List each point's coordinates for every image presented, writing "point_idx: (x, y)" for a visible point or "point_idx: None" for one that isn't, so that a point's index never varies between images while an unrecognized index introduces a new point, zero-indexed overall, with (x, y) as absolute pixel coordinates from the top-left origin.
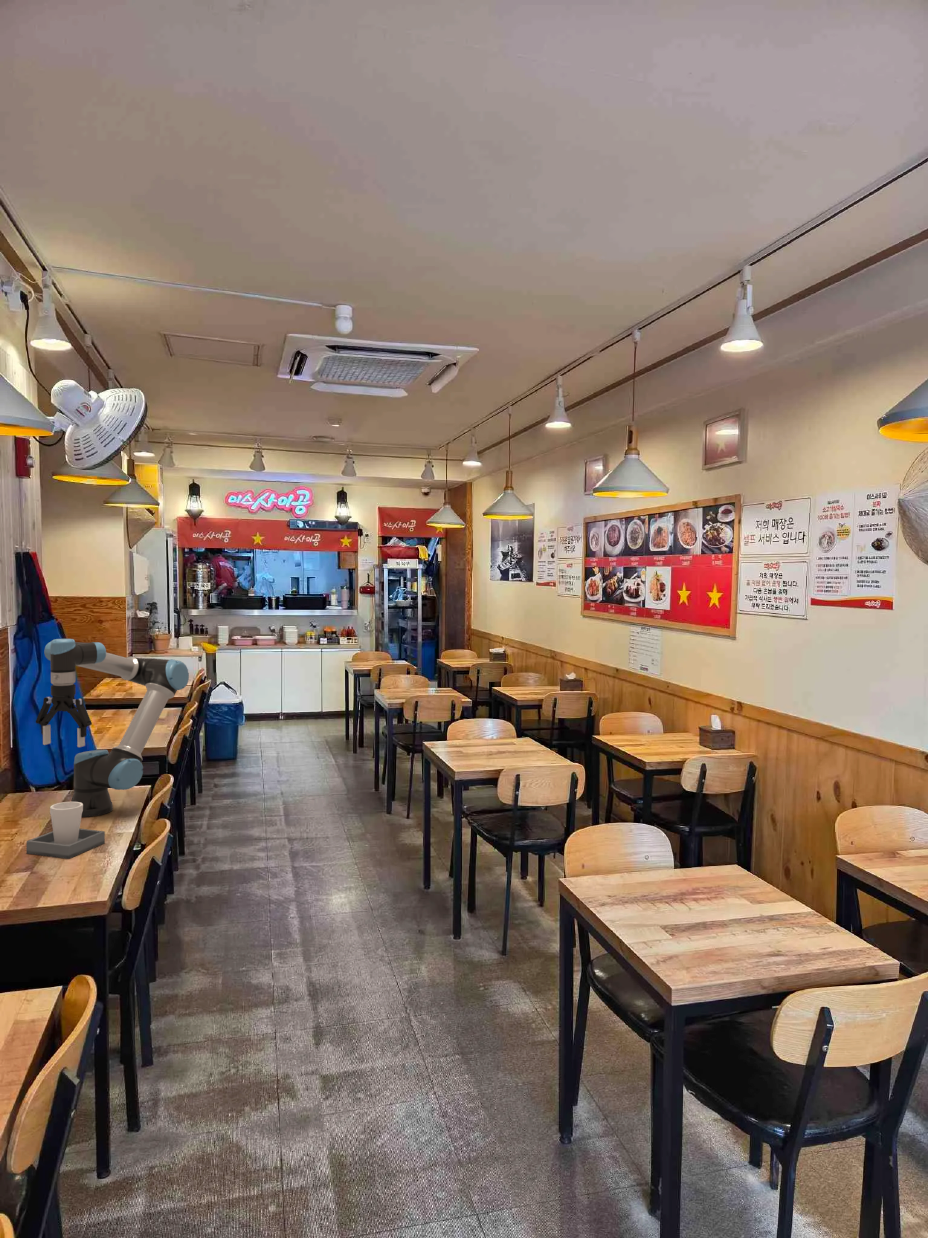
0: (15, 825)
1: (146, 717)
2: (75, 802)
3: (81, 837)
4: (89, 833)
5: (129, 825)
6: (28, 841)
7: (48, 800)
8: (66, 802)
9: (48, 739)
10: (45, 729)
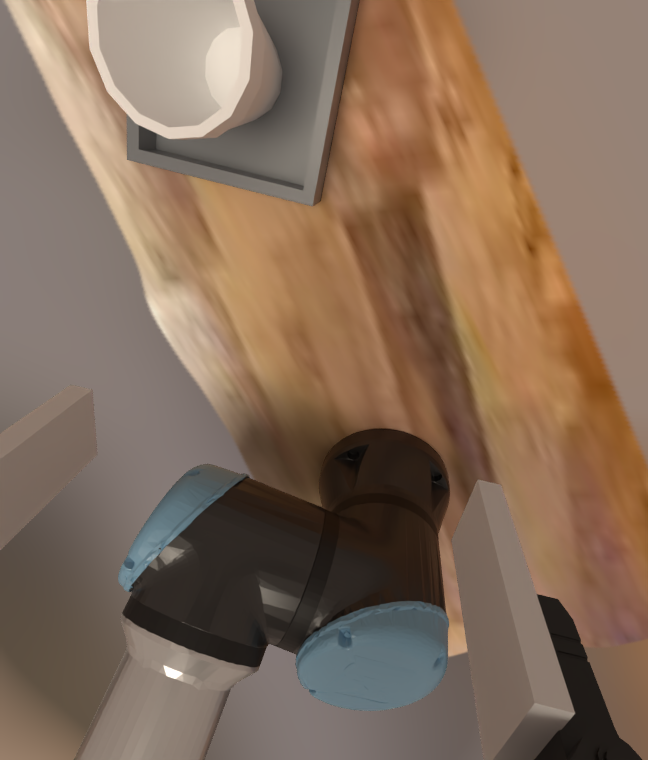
0: (575, 340)
1: None
2: (169, 127)
3: (233, 168)
4: (190, 160)
5: (193, 358)
6: None
7: (568, 579)
8: (212, 115)
9: (466, 554)
10: (512, 650)
